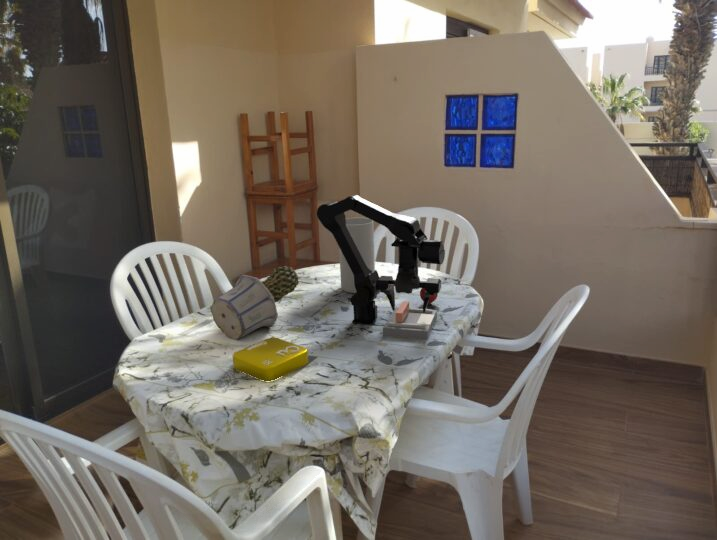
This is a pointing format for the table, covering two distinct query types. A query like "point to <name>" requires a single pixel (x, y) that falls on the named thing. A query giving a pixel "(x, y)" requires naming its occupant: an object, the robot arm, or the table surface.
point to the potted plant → (252, 302)
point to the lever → (402, 311)
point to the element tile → (270, 359)
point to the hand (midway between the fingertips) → (408, 311)
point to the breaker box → (411, 324)
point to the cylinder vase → (364, 241)
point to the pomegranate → (432, 297)
